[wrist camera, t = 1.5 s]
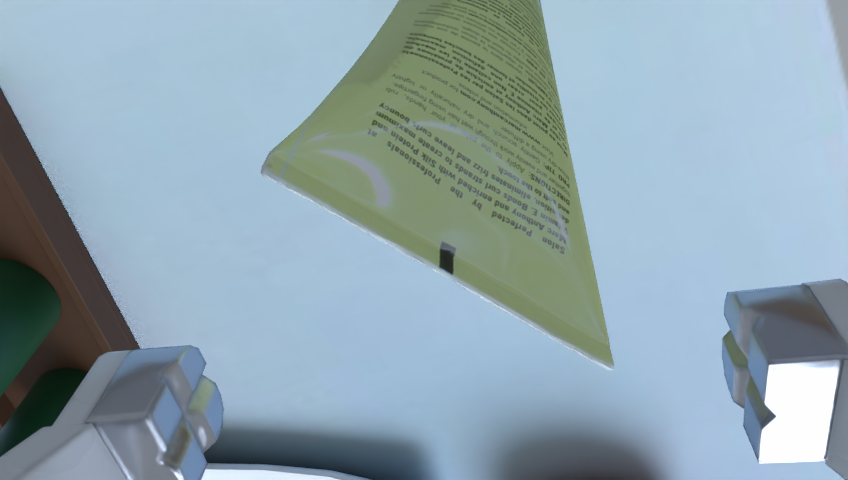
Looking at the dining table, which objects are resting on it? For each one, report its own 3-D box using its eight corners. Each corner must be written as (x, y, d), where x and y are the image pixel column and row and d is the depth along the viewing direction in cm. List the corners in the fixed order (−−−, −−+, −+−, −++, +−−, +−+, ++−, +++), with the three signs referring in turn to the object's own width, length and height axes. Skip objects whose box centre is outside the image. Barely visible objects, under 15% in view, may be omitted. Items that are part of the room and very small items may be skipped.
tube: (409, 60, 30) (327, 392, 14) (387, -65, 28) (254, 171, 11) (542, 42, 30) (615, 373, 13) (533, -88, 27) (611, 130, 11)
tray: (-208, 90, 33) (-246, 108, 31) (-16, 56, 32) (-45, 73, 30) (44, 447, 47) (27, 473, 45) (187, 436, 45) (175, 463, 43)
